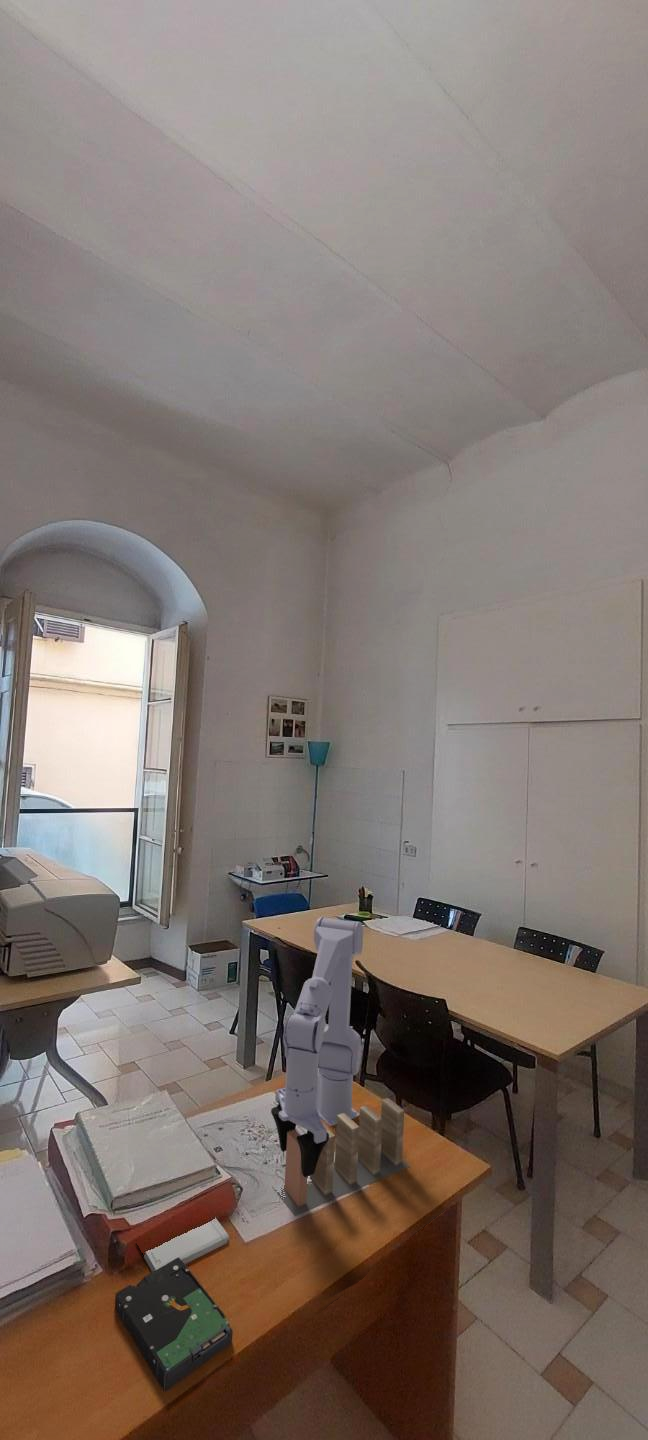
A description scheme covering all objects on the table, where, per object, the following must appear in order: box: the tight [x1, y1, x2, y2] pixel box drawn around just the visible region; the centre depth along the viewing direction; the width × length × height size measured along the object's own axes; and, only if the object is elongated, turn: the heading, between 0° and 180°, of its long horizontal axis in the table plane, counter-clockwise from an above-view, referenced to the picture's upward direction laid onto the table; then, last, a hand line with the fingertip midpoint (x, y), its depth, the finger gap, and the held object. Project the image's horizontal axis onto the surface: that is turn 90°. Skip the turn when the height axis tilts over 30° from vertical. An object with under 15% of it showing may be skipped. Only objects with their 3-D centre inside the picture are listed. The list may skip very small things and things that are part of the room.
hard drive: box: [143, 1217, 230, 1273], centre depth 99 cm, size 2×8×12 cm
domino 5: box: [380, 1097, 405, 1166], centre depth 123 cm, size 2×5×10 cm, turn 34°
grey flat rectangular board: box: [273, 1153, 411, 1217], centre depth 116 cm, size 8×26×1 cm, turn 124°
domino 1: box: [284, 1129, 308, 1207], centre depth 110 cm, size 2×5×10 cm, turn 33°
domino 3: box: [334, 1113, 359, 1185], centre depth 117 cm, size 2×5×10 cm, turn 34°
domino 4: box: [358, 1104, 382, 1175], centre depth 120 cm, size 2×5×10 cm, turn 34°
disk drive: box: [114, 1257, 234, 1392], centre depth 85 cm, size 10×3×15 cm
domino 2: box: [310, 1123, 336, 1195], centre depth 114 cm, size 2×5×10 cm, turn 33°
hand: (297, 1161), depth 111 cm, fingers open, 7 cm apart
